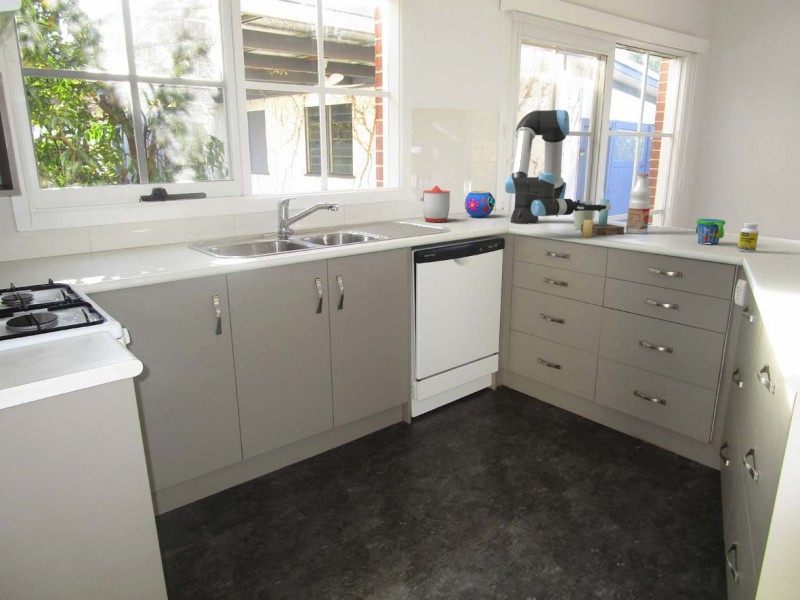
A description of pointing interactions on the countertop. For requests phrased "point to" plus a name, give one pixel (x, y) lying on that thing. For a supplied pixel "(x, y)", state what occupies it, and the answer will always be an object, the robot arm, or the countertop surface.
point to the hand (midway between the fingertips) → (601, 205)
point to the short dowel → (587, 228)
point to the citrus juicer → (436, 204)
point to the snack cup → (710, 230)
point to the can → (581, 218)
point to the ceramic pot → (479, 203)
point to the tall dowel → (603, 214)
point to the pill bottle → (748, 237)
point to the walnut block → (606, 229)
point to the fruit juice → (639, 206)
